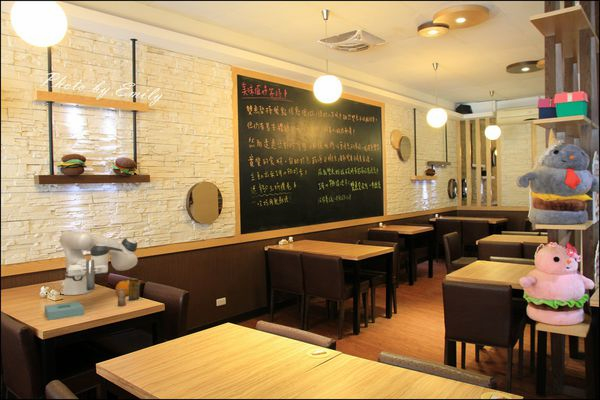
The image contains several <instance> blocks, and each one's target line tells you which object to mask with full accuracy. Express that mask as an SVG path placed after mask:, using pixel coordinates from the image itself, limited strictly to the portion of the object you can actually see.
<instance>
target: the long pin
mask: <svg viewBox="0 0 600 400" xmlns="http://www.w3.org/2000/svg"><path fill="white" fill-rule="evenodd" d="M86 271H87V274H86V290H88V291H89V290H93V291H95V284H96V283H95V279H96V278H95V277H94V260H91V259H86Z"/></svg>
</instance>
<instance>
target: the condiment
mask: <svg viewBox="0 0 600 400" xmlns="http://www.w3.org/2000/svg"><path fill="white" fill-rule="evenodd" d="M139 279H140V278H138V277H137V278H135V277H133V278H129V279H128V280H129V295H128V297H125V300H128V301H129V302H132V301H135V302H136V301H139V300H140V301H141V300H143V298H141V297H140V282H139Z"/></svg>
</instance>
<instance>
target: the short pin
mask: <svg viewBox="0 0 600 400" xmlns="http://www.w3.org/2000/svg"><path fill="white" fill-rule="evenodd" d="M125 306H126V296H125V289H118V294H117V307H125Z"/></svg>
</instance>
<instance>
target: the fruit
mask: <svg viewBox="0 0 600 400" xmlns="http://www.w3.org/2000/svg"><path fill="white" fill-rule="evenodd" d="M118 289H125V297H127V296H129V279H128V280H127V279H126V278H125V279H124V280H122V281H119V282H118V283H117V284H116V286H115V292H116V294H117V295H118Z"/></svg>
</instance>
